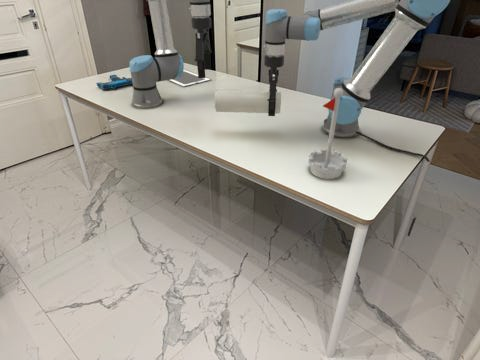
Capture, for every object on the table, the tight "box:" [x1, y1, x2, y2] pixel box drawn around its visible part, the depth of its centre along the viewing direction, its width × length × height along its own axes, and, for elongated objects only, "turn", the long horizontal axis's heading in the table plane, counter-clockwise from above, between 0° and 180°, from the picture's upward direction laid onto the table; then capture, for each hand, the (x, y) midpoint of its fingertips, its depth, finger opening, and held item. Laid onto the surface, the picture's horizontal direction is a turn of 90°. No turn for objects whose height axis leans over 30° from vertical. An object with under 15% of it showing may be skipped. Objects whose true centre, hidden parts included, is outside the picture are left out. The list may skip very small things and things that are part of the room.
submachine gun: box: [95, 74, 133, 91], centre depth 209 cm, size 34×4×25 cm
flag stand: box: [307, 88, 348, 180], centre depth 113 cm, size 13×13×30 cm
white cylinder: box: [214, 90, 282, 115], centre depth 139 cm, size 26×8×8 cm, turn 85°
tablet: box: [168, 69, 212, 88], centre depth 217 cm, size 32×20×1 cm, turn 41°
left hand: (205, 73), depth 140 cm, fingers open, 13 cm apart
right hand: (271, 111), depth 141 cm, fingers closed on white cylinder, 8 cm apart
